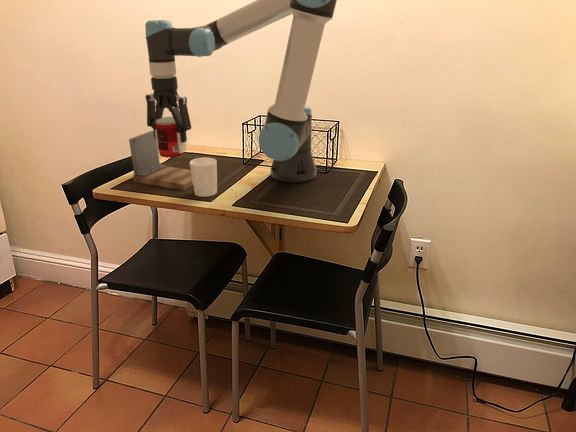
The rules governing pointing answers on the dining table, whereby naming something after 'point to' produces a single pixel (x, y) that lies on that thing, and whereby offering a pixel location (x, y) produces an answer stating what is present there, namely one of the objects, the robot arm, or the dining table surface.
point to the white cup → (204, 176)
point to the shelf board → (168, 178)
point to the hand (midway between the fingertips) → (171, 150)
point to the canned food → (167, 137)
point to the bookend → (145, 155)
